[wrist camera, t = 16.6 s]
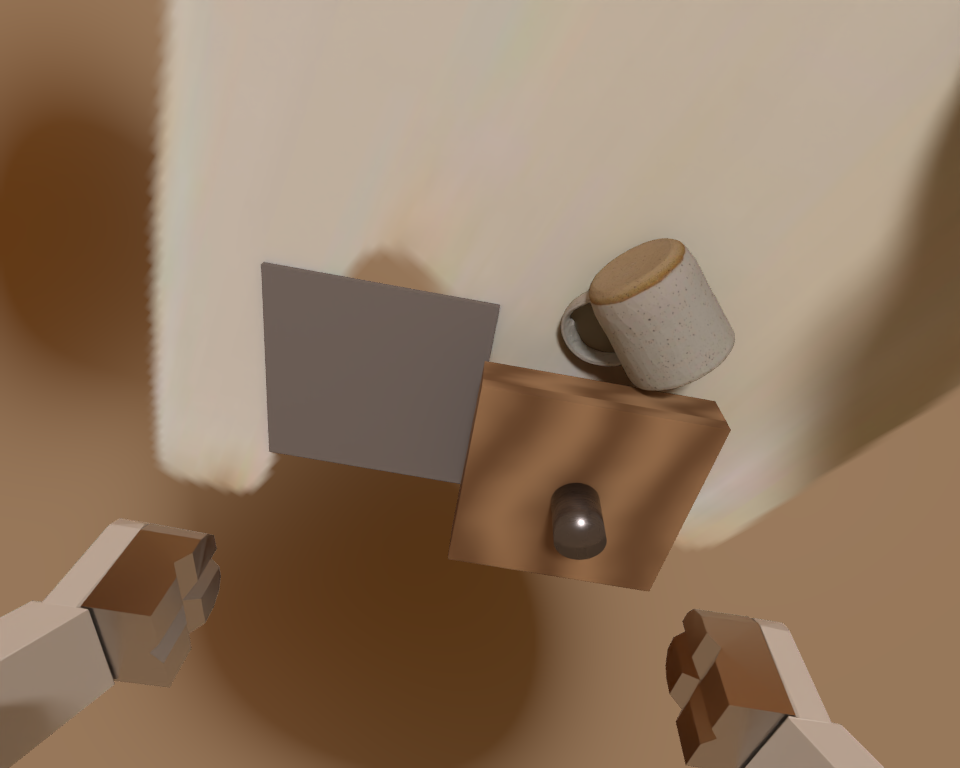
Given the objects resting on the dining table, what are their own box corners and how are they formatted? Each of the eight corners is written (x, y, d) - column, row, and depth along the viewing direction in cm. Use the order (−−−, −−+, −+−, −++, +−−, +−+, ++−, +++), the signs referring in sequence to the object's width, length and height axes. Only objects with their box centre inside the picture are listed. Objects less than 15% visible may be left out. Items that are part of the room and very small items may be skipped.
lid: (715, 401, 40) (752, 468, 34) (641, 558, 49) (659, 635, 43) (484, 361, 40) (478, 421, 33) (452, 527, 49) (442, 600, 42)
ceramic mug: (670, 217, 38) (698, 254, 32) (718, 309, 41) (752, 360, 35) (538, 295, 42) (539, 343, 36) (591, 374, 45) (601, 431, 39)
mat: (499, 304, 42) (499, 307, 42) (464, 480, 52) (463, 484, 51) (263, 262, 42) (261, 264, 41) (271, 448, 51) (269, 451, 51)
